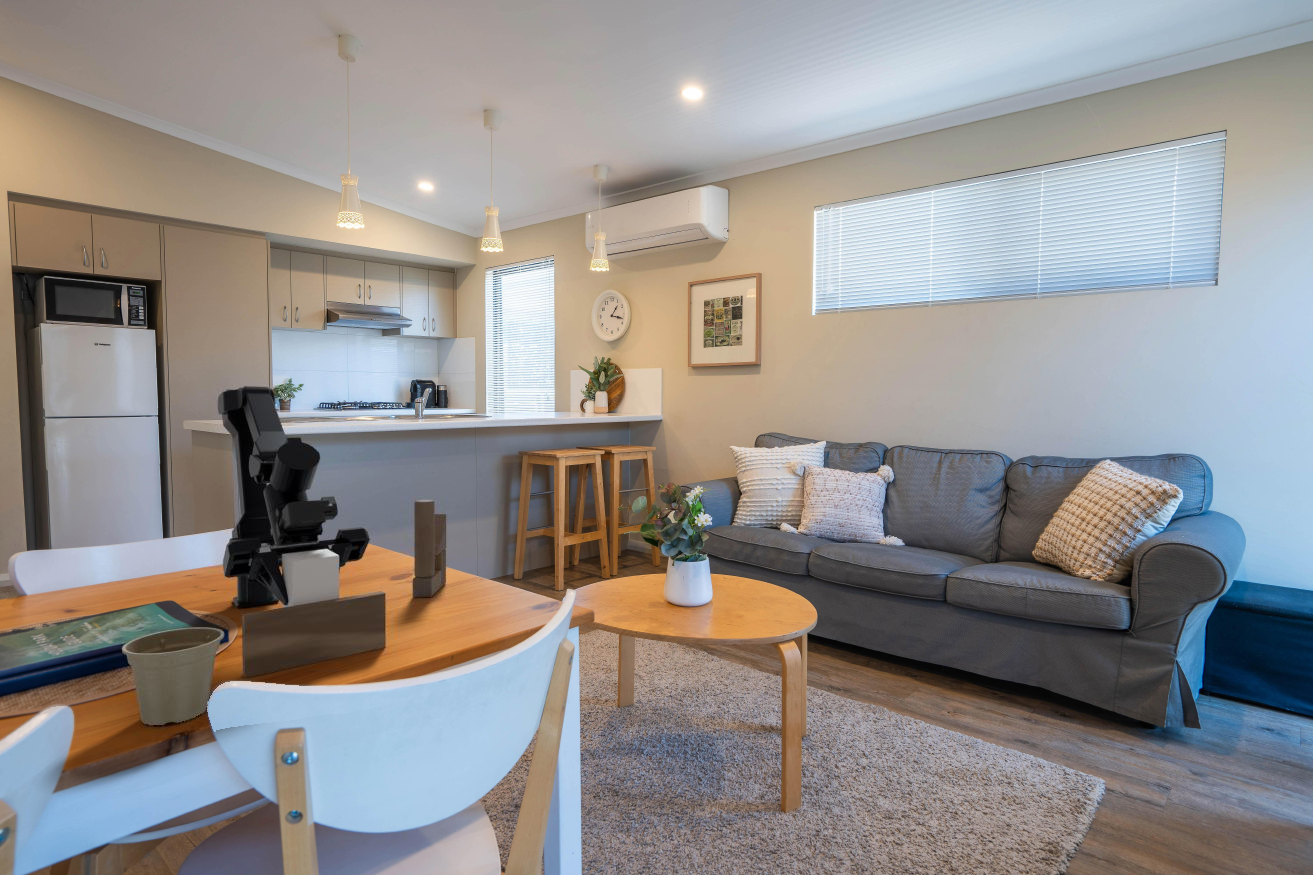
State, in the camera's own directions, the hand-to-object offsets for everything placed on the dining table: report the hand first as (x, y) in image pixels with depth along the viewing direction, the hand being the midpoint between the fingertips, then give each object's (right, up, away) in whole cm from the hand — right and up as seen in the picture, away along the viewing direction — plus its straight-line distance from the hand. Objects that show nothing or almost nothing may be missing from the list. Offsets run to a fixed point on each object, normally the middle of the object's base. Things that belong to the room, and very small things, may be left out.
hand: (311, 599), depth 96 cm
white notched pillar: (0, -7, +1) cm, 7 cm away
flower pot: (-6, -9, -19) cm, 22 cm away
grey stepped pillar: (+5, -7, +35) cm, 36 cm away
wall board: (+2, -8, -2) cm, 8 cm away
